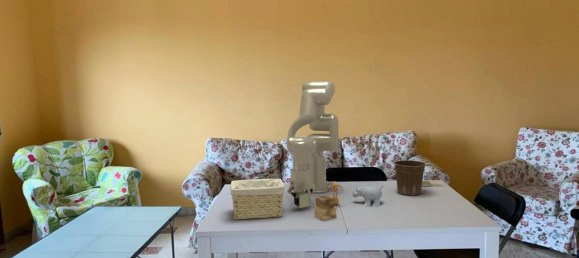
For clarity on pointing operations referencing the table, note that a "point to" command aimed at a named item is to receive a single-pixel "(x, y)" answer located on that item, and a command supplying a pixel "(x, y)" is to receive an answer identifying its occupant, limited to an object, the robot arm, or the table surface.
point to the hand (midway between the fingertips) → (302, 203)
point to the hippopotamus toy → (369, 194)
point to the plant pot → (409, 176)
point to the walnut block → (325, 202)
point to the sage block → (303, 199)
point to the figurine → (336, 192)
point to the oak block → (325, 213)
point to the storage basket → (257, 198)
